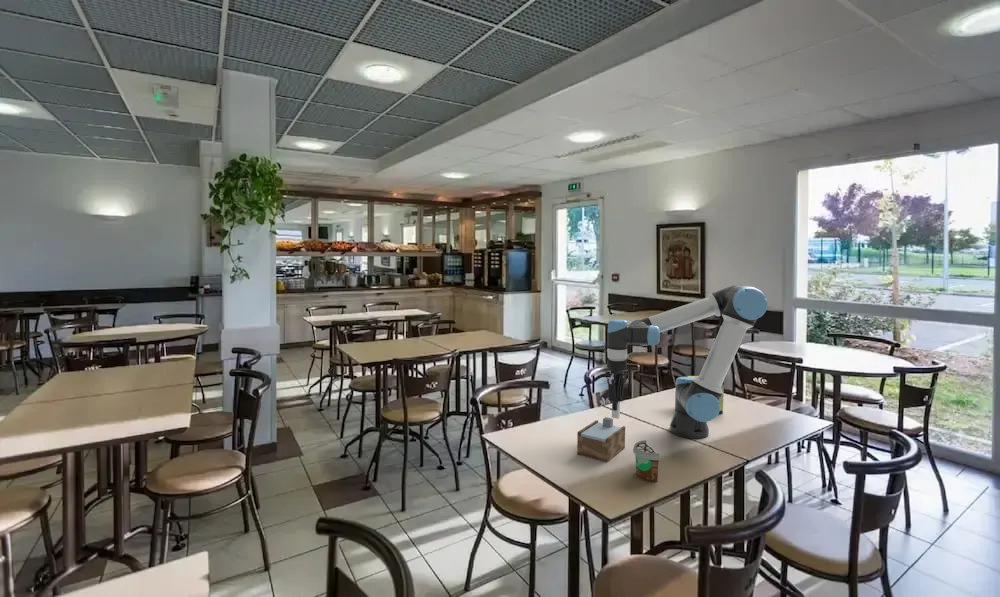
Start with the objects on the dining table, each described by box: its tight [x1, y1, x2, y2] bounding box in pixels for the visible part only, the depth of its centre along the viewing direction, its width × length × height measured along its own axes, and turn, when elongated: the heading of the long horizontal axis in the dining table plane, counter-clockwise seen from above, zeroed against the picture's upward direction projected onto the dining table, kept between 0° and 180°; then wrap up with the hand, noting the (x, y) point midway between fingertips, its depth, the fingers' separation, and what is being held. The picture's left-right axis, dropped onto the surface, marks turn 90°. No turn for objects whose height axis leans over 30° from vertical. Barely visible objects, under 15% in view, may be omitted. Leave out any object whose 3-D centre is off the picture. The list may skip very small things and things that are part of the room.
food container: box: [632, 439, 661, 483], centre depth 164 cm, size 12×6×10 cm, turn 5°
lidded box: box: [576, 419, 626, 463], centre depth 184 cm, size 16×12×8 cm
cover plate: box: [581, 416, 622, 442], centre depth 184 cm, size 15×10×4 cm, turn 144°
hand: (615, 417), depth 194 cm, fingers closed
